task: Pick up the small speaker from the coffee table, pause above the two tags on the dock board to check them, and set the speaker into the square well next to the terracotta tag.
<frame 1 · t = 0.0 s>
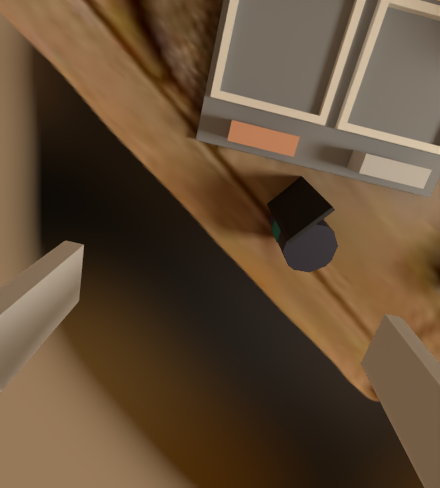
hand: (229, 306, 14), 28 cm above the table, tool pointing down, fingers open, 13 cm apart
dock board: (339, 85, 36), on the table
speaker: (296, 214, 42), on the table
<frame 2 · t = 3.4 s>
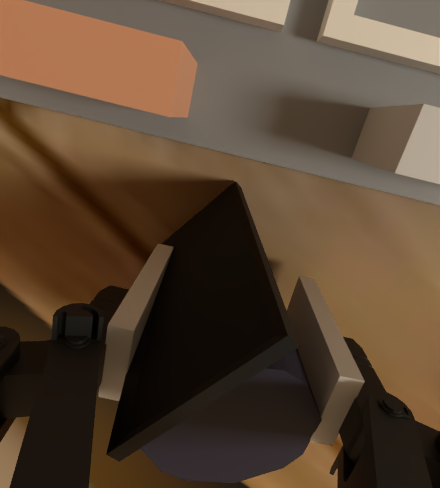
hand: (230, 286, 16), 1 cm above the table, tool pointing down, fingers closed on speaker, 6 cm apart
speaker: (230, 271, 17), on the table, touching gripper
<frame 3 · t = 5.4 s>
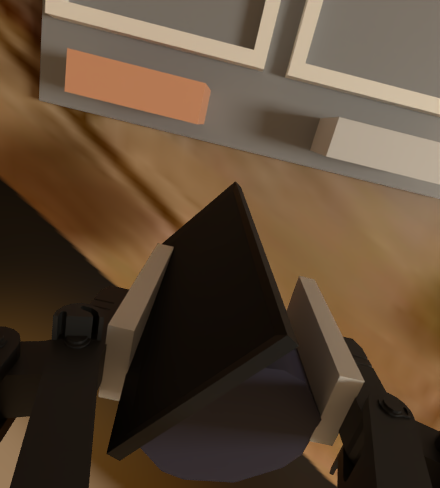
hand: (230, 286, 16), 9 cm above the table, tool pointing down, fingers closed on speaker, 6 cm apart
speaker: (230, 271, 18), point 8 cm above the table, touching gripper
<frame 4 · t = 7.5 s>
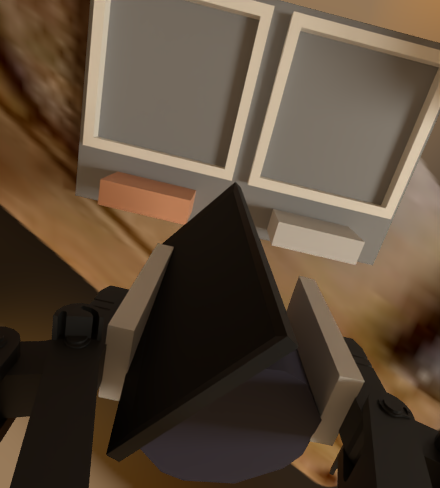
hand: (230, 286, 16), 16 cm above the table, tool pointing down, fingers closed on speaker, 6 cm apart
dock board: (252, 129, 28), on the table
speaker: (230, 272, 17), point 14 cm above the table, touching gripper
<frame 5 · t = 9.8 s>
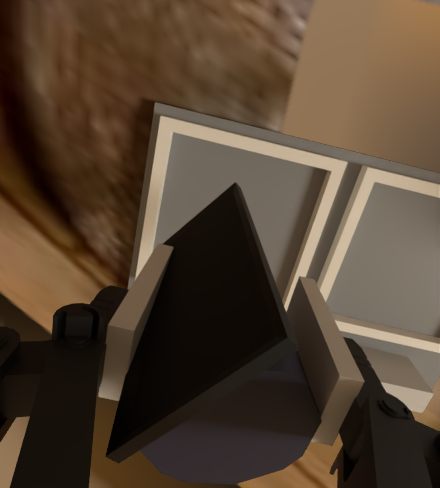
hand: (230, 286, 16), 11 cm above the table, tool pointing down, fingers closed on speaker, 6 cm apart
dock board: (310, 262, 27), on the table
speaker: (230, 272, 17), point 9 cm above the table, touching gripper
when the fingers open (5 cm above the table, at t = 11.6 s): speaker drops 2 cm, resting on dock board.
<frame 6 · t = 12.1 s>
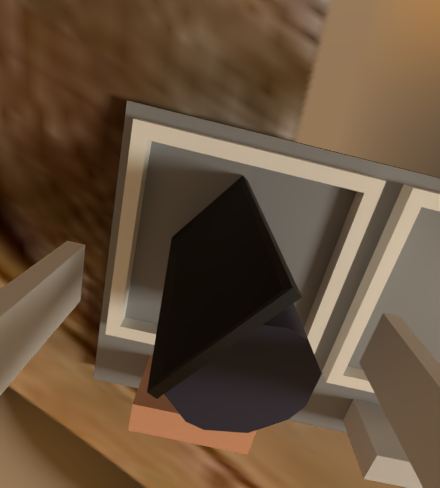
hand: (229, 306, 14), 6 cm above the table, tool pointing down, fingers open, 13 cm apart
dock board: (329, 303, 21), on the table
speaker: (238, 257, 19), point 1 cm above the table, touching dock board
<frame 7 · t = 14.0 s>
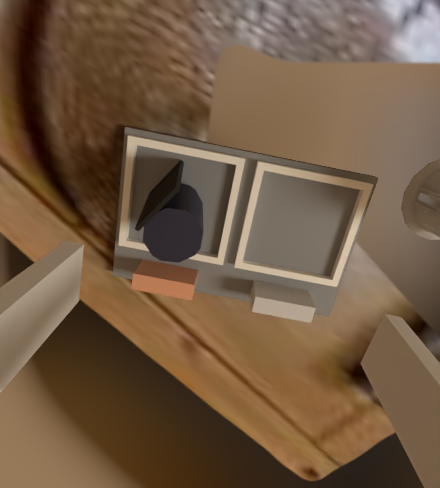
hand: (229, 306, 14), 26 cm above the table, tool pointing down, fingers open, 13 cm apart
dock board: (235, 227, 40), on the table
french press: (437, 198, 38), on the table
speaker: (183, 202, 38), point 1 cm above the table, touching dock board
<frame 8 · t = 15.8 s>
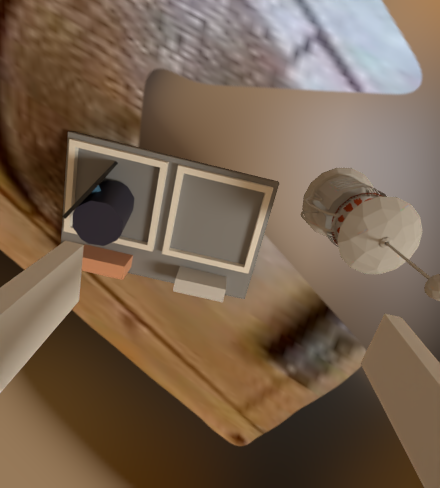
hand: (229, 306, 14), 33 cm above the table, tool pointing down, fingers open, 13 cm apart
dock board: (165, 219, 47), on the table
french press: (331, 201, 46), on the table
speaker: (119, 196, 45), point 1 cm above the table, touching dock board
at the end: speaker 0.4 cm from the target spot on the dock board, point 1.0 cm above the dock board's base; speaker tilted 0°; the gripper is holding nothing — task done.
